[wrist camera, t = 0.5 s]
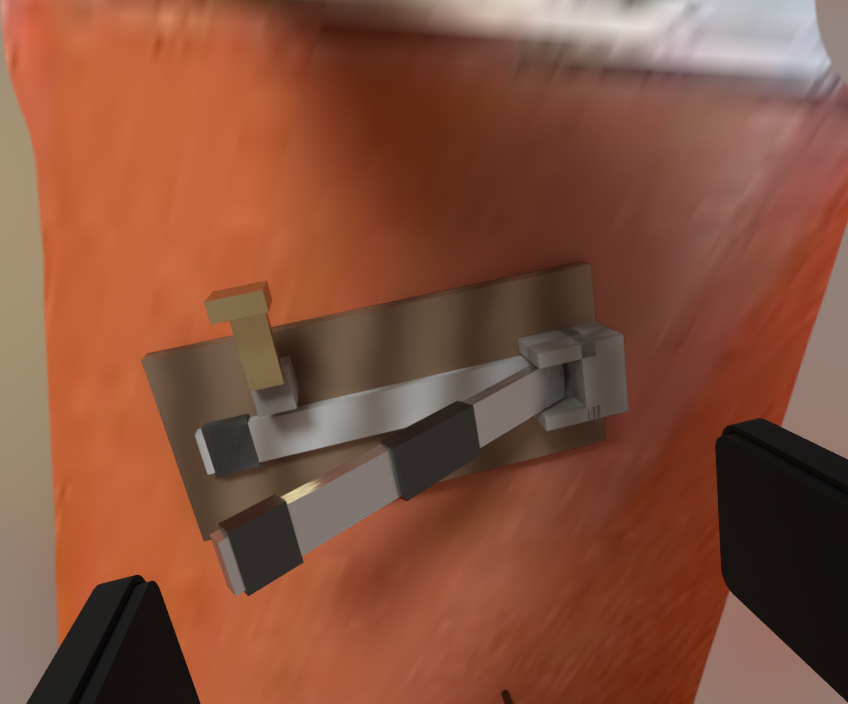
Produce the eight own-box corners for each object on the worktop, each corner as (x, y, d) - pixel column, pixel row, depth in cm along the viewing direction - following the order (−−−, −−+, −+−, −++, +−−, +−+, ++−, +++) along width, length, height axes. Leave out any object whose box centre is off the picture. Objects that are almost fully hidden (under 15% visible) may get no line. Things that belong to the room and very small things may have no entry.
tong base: (582, 261, 43) (618, 273, 38) (597, 432, 47) (632, 464, 42) (147, 353, 39) (122, 380, 34) (207, 529, 44) (193, 577, 38)
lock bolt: (215, 289, 33) (204, 302, 30) (267, 279, 34) (262, 290, 31) (243, 387, 35) (236, 409, 32) (293, 376, 36) (290, 397, 32)
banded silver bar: (553, 349, 42) (569, 351, 41) (558, 395, 43) (574, 399, 42) (207, 529, 27) (219, 540, 26) (229, 591, 28) (240, 605, 27)
